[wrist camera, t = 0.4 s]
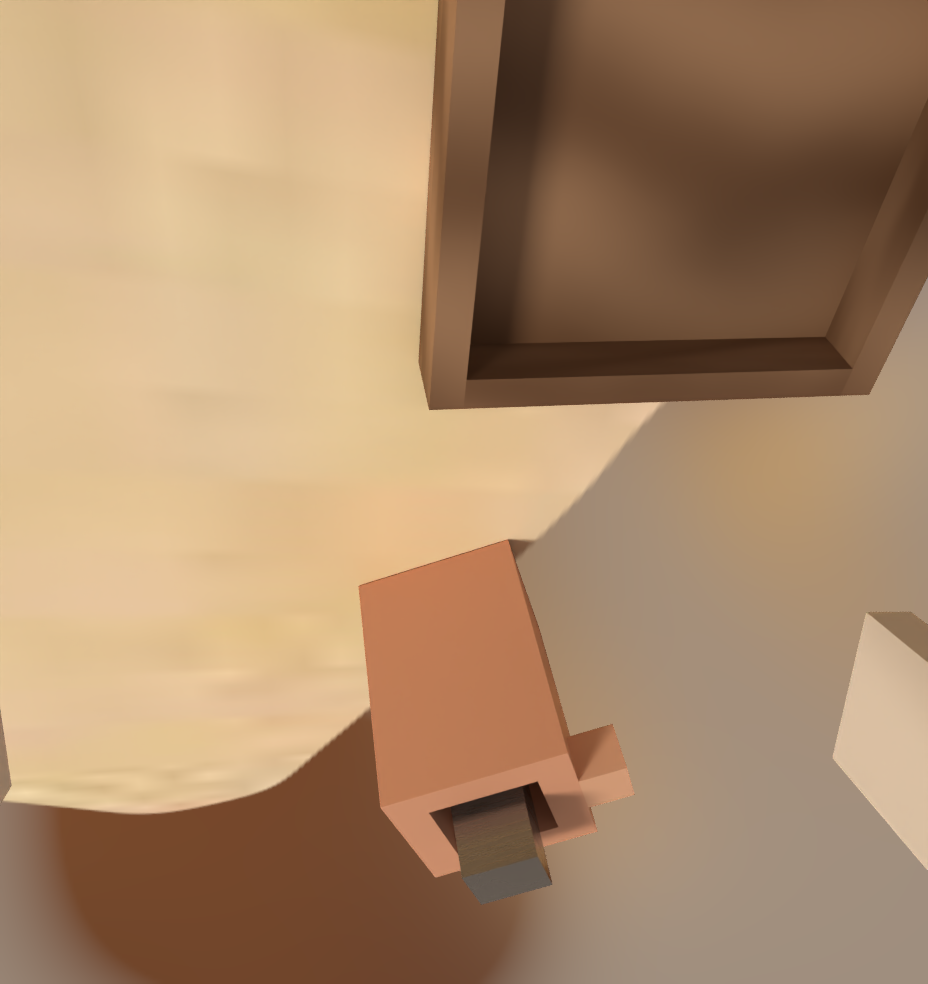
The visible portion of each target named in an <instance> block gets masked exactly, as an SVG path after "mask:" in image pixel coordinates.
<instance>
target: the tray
mask: <svg viewBox="0 0 928 984" xmlns="http://www.w3.org/2000/svg"><path fill="white" fill-rule="evenodd" d="M927 277H928V0H439V2H438V20H437V39H436V57H435V75H434V93H433V111H432V129H431V147H430V165H429V184H428V202H427V220H426V238H425V256H424V274H423V292H422V310H421V329H420V347H419V366H420V371H421V375H422V380H423V384H424V389H425V393H426V398H427V402H428V407H429V410H440V409H469V408H498V407H527V406H555V405H584V404H613V403H641V402H670V401H698V400H728V399H755V398H782V397H783V398H785V397H814V396H841V395H869V394H870V392H871V389H872V388H873V386H874V384H875V382H876V380H877V378H878V376H879V374H880V372H881V370H882V368H883V366H884V364H885V362H886V360H887V357H888V356H889V353H890V352H891V350H892V348H893V345H894V343H895V341H896V339H897V337H898V335H899V333H900V331H901V329H902V327H903V325H904V323H905V321H906V319H907V317H908V315H909V313H910V311H911V309H912V307H913V305H914V303H915V301H916V299H917V297H918V295H919V293H920V291H921V289H922V287H923V285H924V283H925V281H926V279H927Z"/></svg>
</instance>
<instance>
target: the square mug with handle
mask: <svg viewBox="0 0 928 984" xmlns="http://www.w3.org/2000/svg"><path fill="white" fill-rule="evenodd" d="M359 595H360V606H361V616H362V626H363V636H364V646H365V656H366V666H367V676H368V686H369V697H370V707H371V717H372V727H373V737H374V747H375V757H376V767H377V777H378V787H379V797H380V808H381V809H382V810H383V811H384V813H385V814H386V815H387V816H388V818H389V819H390V820H391V821H392V823H393V824H394V825H395V827H396V828H397V829H398V830H399V832H400V833H401V834H402V835H403V837H404V838H405V839H406V840H407V842H408V843H409V844H410V846H411V847H412V848H413V849H414V851H415V852H416V853H417V855H418V856H419V857H420V858H421V860H422V861H423V862H424V863H425V865H426V866H427V867H428V868H429V870H430V871H431V872H432V874H433V875H434V876H435V877H439V876H442V875H445V874H449V873H453V872H456V871H460V870H461V869H460V862H459V856H458V850H457V844H456V838H455V831H454V825H453V819H452V813H451V806H454V805H458V804H461V803H464V802H468V801H471V800H475V799H478V798H482V797H485V796H489V795H492V794H496V793H499V792H502V791H506V790H509V789H513V788H516V787H520V786H523V785H527V784H529V787H530V792H531V796H532V800H533V804H534V809H535V813H536V817H537V821H538V825H539V830H540V834H541V838H542V842H543V847H544V846H548V845H551V844H555V843H558V842H562V841H565V840H569V839H572V838H576V837H579V836H583V835H586V834H590V833H593V832H597V828H596V825H595V821H594V818H593V814H592V811H591V807H593V806H596V805H600V804H603V803H607V802H610V801H614V800H617V799H621V798H624V797H628V796H631V795H634V791H633V787H632V784H631V780H630V777H629V773H628V770H627V767H626V763H625V761H624V757H623V754H622V751H621V748H620V745H619V742H618V739H617V736H616V733H615V730H614V727H613V724H611V725H607V726H604V727H600V728H597V729H593V730H590V731H587V732H583V733H580V734H576V735H573V736H570V734H569V730H568V727H567V724H566V720H565V717H564V713H563V710H562V706H561V703H560V699H559V696H558V692H557V689H556V685H555V682H554V678H553V675H552V671H551V668H550V664H549V661H548V657H547V654H546V650H545V647H544V643H543V640H542V636H541V633H540V630H539V626H538V624H537V621H536V618H535V615H534V612H533V609H532V607H531V604H530V601H529V598H528V595H527V593H526V590H525V587H524V584H523V581H522V578H521V575H520V573H519V570H518V567H517V564H516V561H515V558H514V556H513V553H512V550H511V547H510V544H509V541H508V540H506V541H503V542H500V543H496V544H493V545H490V546H487V547H484V548H480V549H477V550H474V551H471V552H467V553H464V554H461V555H458V556H454V557H451V558H448V559H445V560H442V561H438V562H435V563H432V564H429V565H425V566H422V567H419V568H416V569H413V570H409V571H406V572H403V573H400V574H396V575H393V576H390V577H387V578H383V579H380V580H377V581H374V582H371V583H367V584H364V585H361V586H359Z"/></svg>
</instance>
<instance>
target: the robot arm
mask: <svg viewBox="0 0 928 984" xmlns="http://www.w3.org/2000/svg"><path fill="white" fill-rule="evenodd" d="M833 759H834V760H835V761H836V763H837V764H838V765H839V766H840V767H841V769H842V770H843V771H844V772H845V773H846V774H847V776H848V777H849V778H850V779H851V780H852V781H853V783H854V784H855V785H856V786H857V788H858V789H859V790H860V791H861V792H862V793H863V795H864V796H865V797H866V798H867V799H868V801H869V802H870V803H871V804H872V805H873V806H874V807H875V809H876V810H877V811H878V812H879V814H880V815H881V816H882V817H883V818H884V819H885V820H886V822H887V823H888V824H889V825H890V826H891V828H892V829H893V830H894V831H895V833H896V834H897V835H898V836H899V837H900V838H901V840H902V841H903V842H904V843H905V844H906V846H907V847H908V848H909V849H910V850H911V851H912V853H913V854H914V855H915V856H916V857H917V859H918V860H919V861H920V862H921V863H922V864H923V866H924V867H925V868H926V869H927V870H928V624H926V623H925V622H924V621H922V620H921V619H920V618H918V617H917V616H916V615H914V614H913V613H912V612H867V613H866V617H865V620H864V625H863V629H862V633H861V638H860V642H859V646H858V650H857V655H856V659H855V664H854V668H853V672H852V677H851V681H850V685H849V689H848V693H847V698H846V702H845V706H844V711H843V715H842V719H841V724H840V728H839V732H838V736H837V741H836V745H835V750H834V754H833ZM10 787H11V779H10V773H9V766H8V759H7V752H6V745H5V738H4V732H3V725H2V718H1V711H0V804H1V803H2V801H3V799H4V798H5V796H6V794H7V792H8V791H9V789H10Z"/></svg>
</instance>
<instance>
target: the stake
mask: <svg viewBox="0 0 928 984" xmlns="http://www.w3.org/2000/svg"><path fill="white" fill-rule="evenodd" d="M451 813H452V819H453V825H454V831H455V838H456V844H457V850H458V856H459V862H460V869H461V875H462V879H463V880H464V881H465V883H466V884H467V886H468V887H469V888H470V890H471V891H472V892H473V894H474V895H475V897H476V898H477V899H478V901H479V902H480V903H481V904H485V903H489V902H492V901H496V900H499V899H503V898H507V897H510V896H513V895H517V894H521V893H524V892H528V891H531V890H535V889H539V888H542V887H546V886H549V885H552V880H551V876H550V872H549V868H548V864H547V859H546V855H545V851H544V847H543V842H542V838H541V834H540V830H539V825H538V821H537V817H536V813H535V809H534V804H533V800H532V796H531V792H530V787H529V784H527V785H523V786H520V787H516V788H513V789H509V790H506V791H502V792H499V793H496V794H492V795H489V796H485V797H482V798H478V799H475V800H471V801H468V802H464V803H461V804H458V805H454V806H451Z"/></svg>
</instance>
